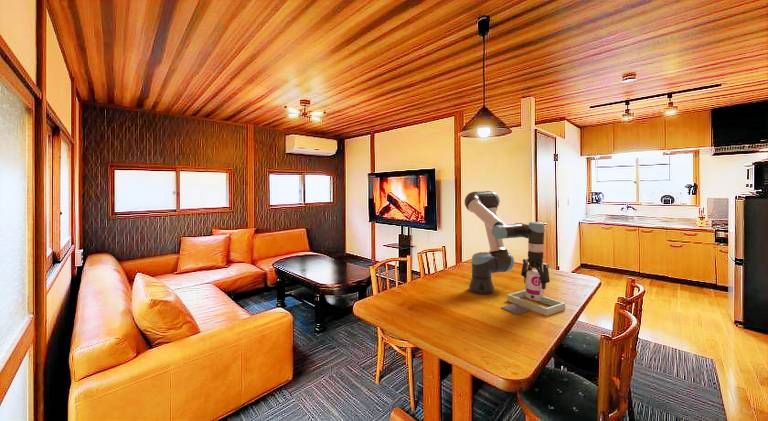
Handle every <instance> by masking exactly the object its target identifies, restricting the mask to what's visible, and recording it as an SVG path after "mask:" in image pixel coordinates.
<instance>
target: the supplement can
mask: <svg viewBox="0 0 768 421" xmlns="http://www.w3.org/2000/svg"><path fill="white" fill-rule="evenodd" d="M540 283H541V279H540V274H539V273H538V271H537V270H536V268H533V269H532V270H528V271H527V276H526V296H527V297H526V298H527V299H528V300H533V301H536V300H541V299H542V298H543V296H544V294H543V295H540Z"/></svg>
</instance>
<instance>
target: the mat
mask: <svg viewBox="0 0 768 421" xmlns="http://www.w3.org/2000/svg"><path fill="white" fill-rule="evenodd" d="M501 309H502V310H505V311H508V312H509V313H512V314H514V315H517V316H519V315H521V314H522V315H523V314H525V313H528V312H531V311H532V310H530V309H528V308H525V307H522V306H520V305H517V304H515V303H512V304H508V305H504V306H502V307H501Z"/></svg>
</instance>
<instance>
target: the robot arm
mask: <svg viewBox="0 0 768 421" xmlns="http://www.w3.org/2000/svg"><path fill="white" fill-rule="evenodd" d="M500 202H501V201H500V197H499V195H498V193H496V192H495V191H489V190H485V191H472V192H469V193H468V194H467V195H466V196H465V198H464V206H465V208H466V209H467V211H469V212H470V213H473V214H475V216H476V217H477V218H479V219H480V220H481V221H482V222H483V223H484V227H485V231H486V235H487V240H488V244H489V245H488V246H489V251H488V252H487V251H486V252H485V251H482V252H475V253H474V254H473V255H472V256H471V279H470V283H469V285H468V291H469V292H471V293H474V294H477V295H491V294H493V293H495V287H494V283H493V281H492V280H493V279H492V274H495V273H496V274H497V273H499V274H500V273H505V272H506V273H507V272H510V271H512V269H513V268H514V265H515V259H514V256H513V255H512V253H510V252H509V251H508V248H506V247H505V246H504V242H503V239H512V238H513V239H515V238H525V239H528V242H527V243H528V246H527V249H528V251H527V257H528V258H523V259H522V267H521V271H520V272H521V273H520V275H521V276H522V277H523V278H524V279H523V281H524V282H523V283H524V290H526V276H527V271H528V270H532V269H536V270H537V271H538V273H539V274H540V279H541V283H540V295H543V296H544V295H545V289H546V288H547V284H548V283H550V281H551V280H550V274H549V273H550V272H549V263H545V262H544V254H545V253H544V250H545V224H544V223H543V222H541V221H530V222H528V224H527V223H522V222H515V223H514V224H512V223H511V224H506V223H505V222H504V221H503V220H501V219H500V218H499V217H498V216H497V211H498V207H499V205H500Z"/></svg>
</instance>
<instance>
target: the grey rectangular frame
mask: <svg viewBox="0 0 768 421" xmlns="http://www.w3.org/2000/svg"><path fill="white" fill-rule="evenodd" d="M506 295H507V296H506V300H507V301H508V302H510V303H512V304H517V305H519V306H522V307H524V308H527V309H530V310H531V311H533V312H535V313H538V314H540V315H544V316H546V317H548V316H551V315H553V314H557V313H559V312H563V311H565V310H566V303H565V302H563V301H560V300H556V299H553V298H550V297H547V296H544V295H543V298H542V299H541V300H535V301H537V302H539V303H542V304H545V305H548V307H544V306H542V305H539V304H537V303H534V302H531V301H528V300H525V299H522V298H527V296H526V290H525V289H523V290H520V291H517V292H511V293H508V294H506Z"/></svg>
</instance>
